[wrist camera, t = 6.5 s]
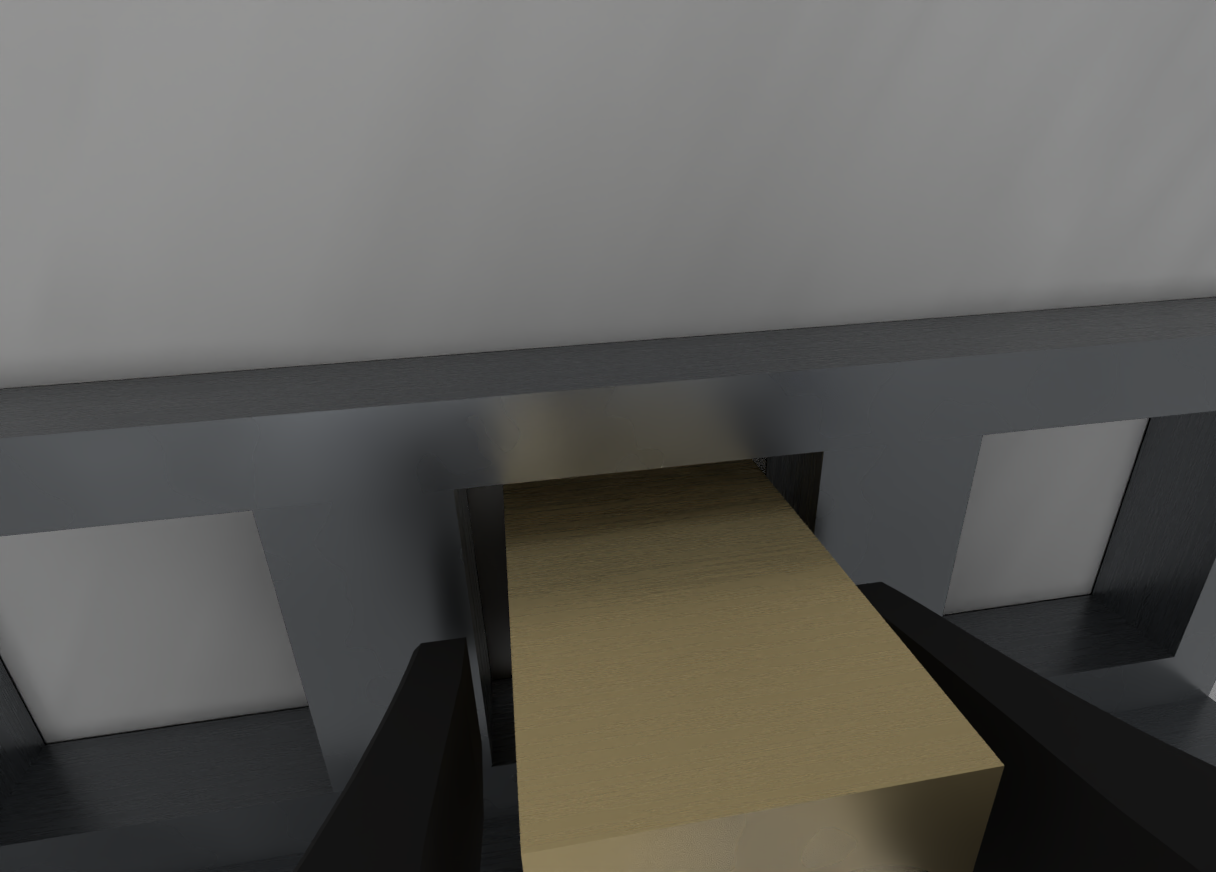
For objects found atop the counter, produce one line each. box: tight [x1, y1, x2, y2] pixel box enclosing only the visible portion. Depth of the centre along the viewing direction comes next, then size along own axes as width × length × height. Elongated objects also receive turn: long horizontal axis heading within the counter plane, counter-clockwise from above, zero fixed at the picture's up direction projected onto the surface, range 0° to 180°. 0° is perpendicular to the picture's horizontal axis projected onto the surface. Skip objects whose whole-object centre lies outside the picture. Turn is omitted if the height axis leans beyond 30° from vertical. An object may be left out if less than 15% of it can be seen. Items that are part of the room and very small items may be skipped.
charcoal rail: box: [0, 297, 1216, 872], centre depth 11 cm, size 9×24×4 cm, turn 91°
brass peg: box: [503, 459, 1004, 872], centre depth 9 cm, size 4×4×7 cm
